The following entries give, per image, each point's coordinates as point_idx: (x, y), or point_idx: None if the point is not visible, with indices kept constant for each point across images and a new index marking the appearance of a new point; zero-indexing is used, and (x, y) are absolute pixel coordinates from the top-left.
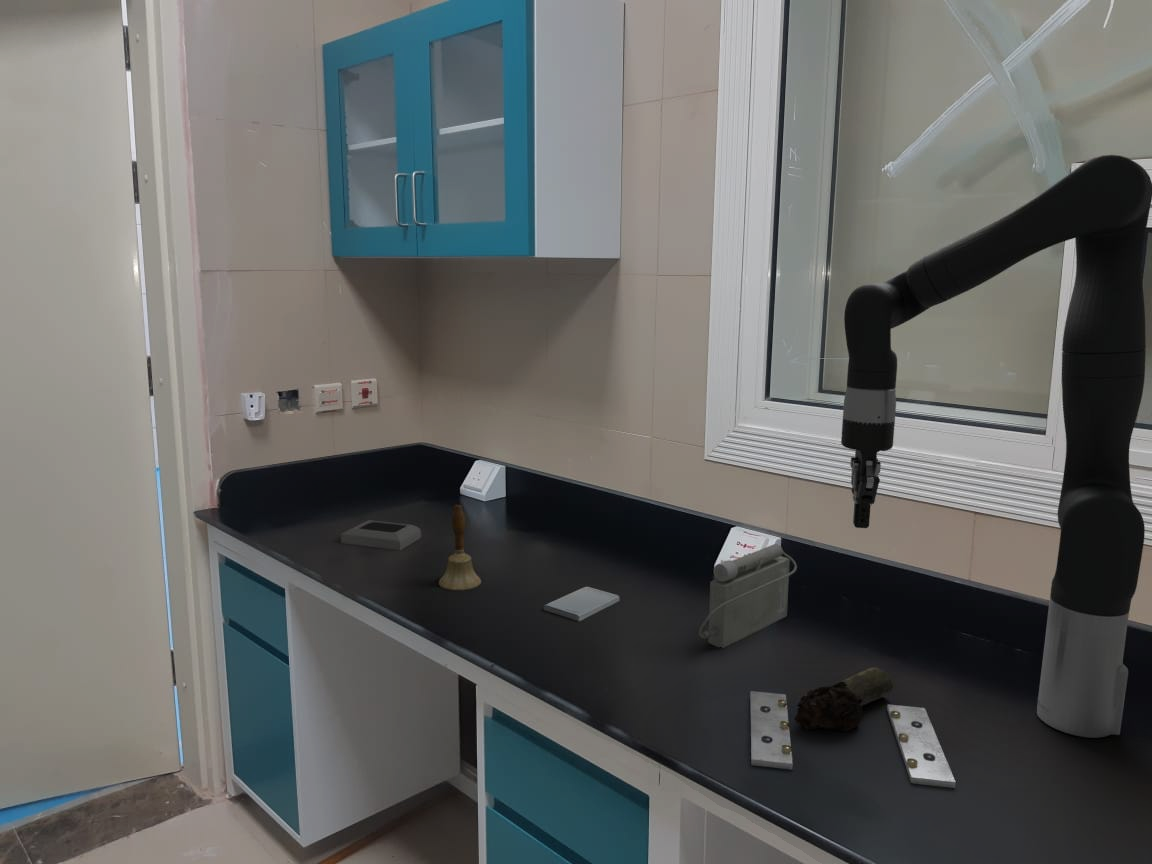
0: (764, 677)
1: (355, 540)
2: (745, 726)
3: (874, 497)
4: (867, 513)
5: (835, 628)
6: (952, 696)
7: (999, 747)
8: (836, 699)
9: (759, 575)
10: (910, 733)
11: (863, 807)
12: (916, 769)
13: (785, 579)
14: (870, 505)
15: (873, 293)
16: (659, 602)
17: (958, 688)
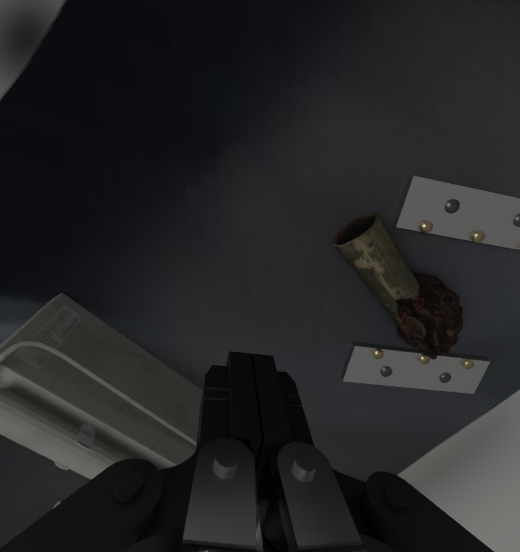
0: (293, 356)
1: None
2: (402, 387)
3: (475, 543)
4: (305, 420)
5: (104, 219)
6: (366, 102)
7: (509, 101)
8: (456, 325)
9: (109, 418)
10: (469, 223)
11: None
12: None
13: (32, 338)
14: (291, 440)
15: None
16: (51, 460)
17: (341, 76)
